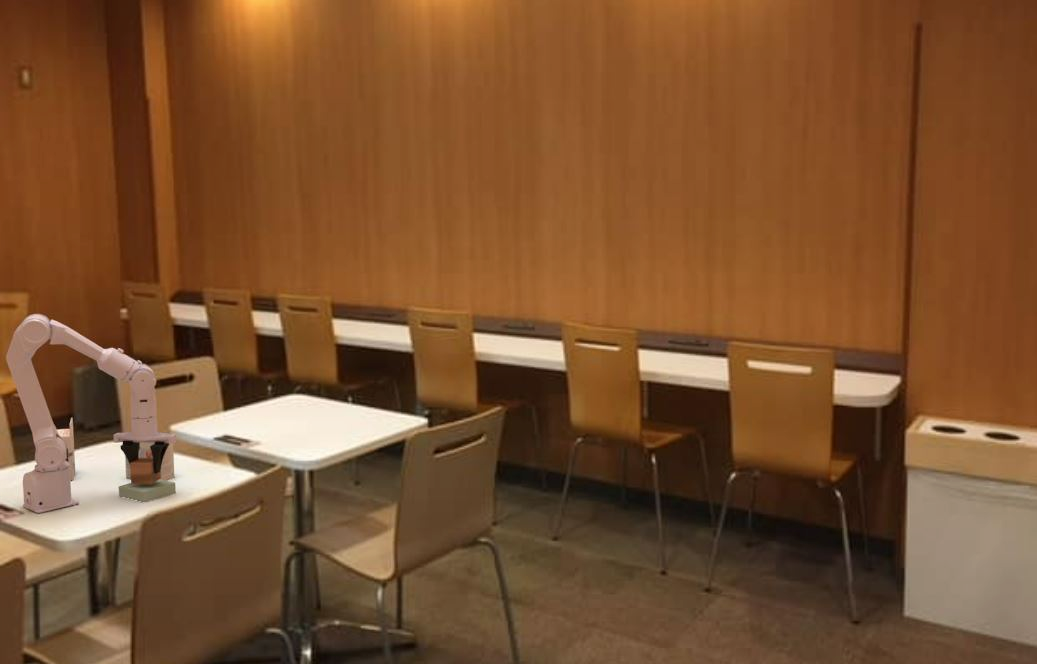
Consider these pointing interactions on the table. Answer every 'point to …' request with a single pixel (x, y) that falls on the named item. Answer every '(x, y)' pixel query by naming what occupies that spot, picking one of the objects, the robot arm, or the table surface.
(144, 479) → the walnut cube
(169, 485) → the sage green box
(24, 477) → the robot arm
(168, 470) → the light bulb box
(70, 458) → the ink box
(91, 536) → the table surface
